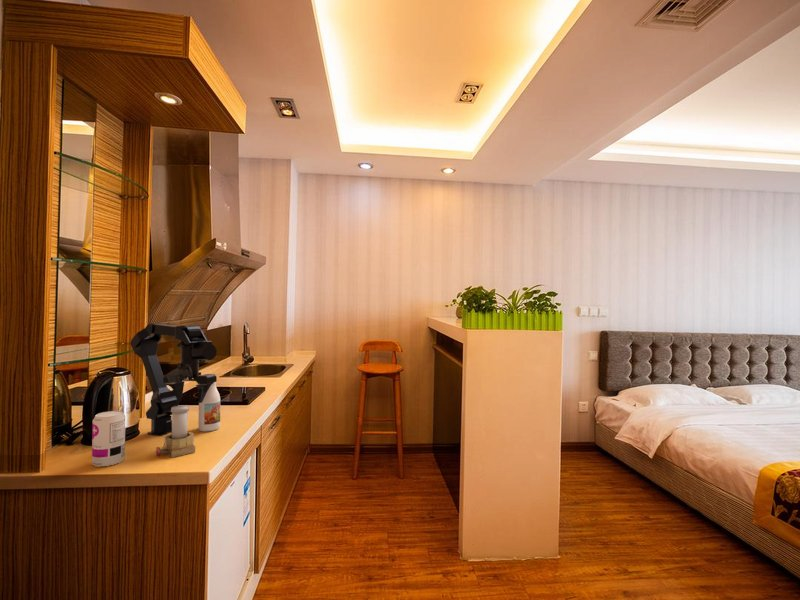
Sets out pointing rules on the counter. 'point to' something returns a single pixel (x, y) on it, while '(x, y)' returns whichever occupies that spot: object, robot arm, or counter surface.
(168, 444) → the valve body
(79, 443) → the counter surface
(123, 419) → the supplement can
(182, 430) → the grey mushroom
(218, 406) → the milk bottle
